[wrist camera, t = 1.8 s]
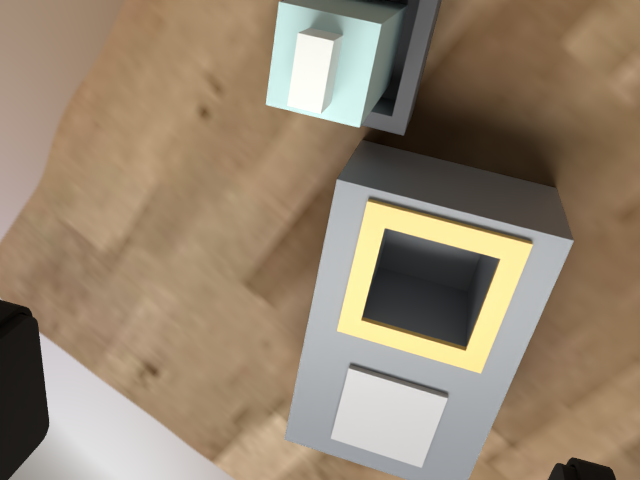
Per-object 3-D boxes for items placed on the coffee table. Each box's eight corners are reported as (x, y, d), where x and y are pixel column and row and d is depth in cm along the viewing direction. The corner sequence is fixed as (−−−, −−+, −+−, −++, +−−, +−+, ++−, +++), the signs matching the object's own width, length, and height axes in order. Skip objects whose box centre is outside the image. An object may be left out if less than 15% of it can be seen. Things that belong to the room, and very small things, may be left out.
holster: (310, -51, 26) (288, -51, 23) (447, -23, 26) (442, -19, 23) (290, 87, 30) (268, 102, 27) (411, 116, 29) (403, 135, 26)
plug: (331, -12, 27) (264, 5, 18) (407, 5, 26) (374, 29, 18) (318, 67, 28) (251, 114, 20) (389, 83, 28) (351, 139, 20)
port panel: (361, 139, 30) (335, 181, 24) (556, 188, 29) (574, 243, 23) (311, 371, 37) (282, 443, 32) (463, 418, 36) (460, 501, 31)
